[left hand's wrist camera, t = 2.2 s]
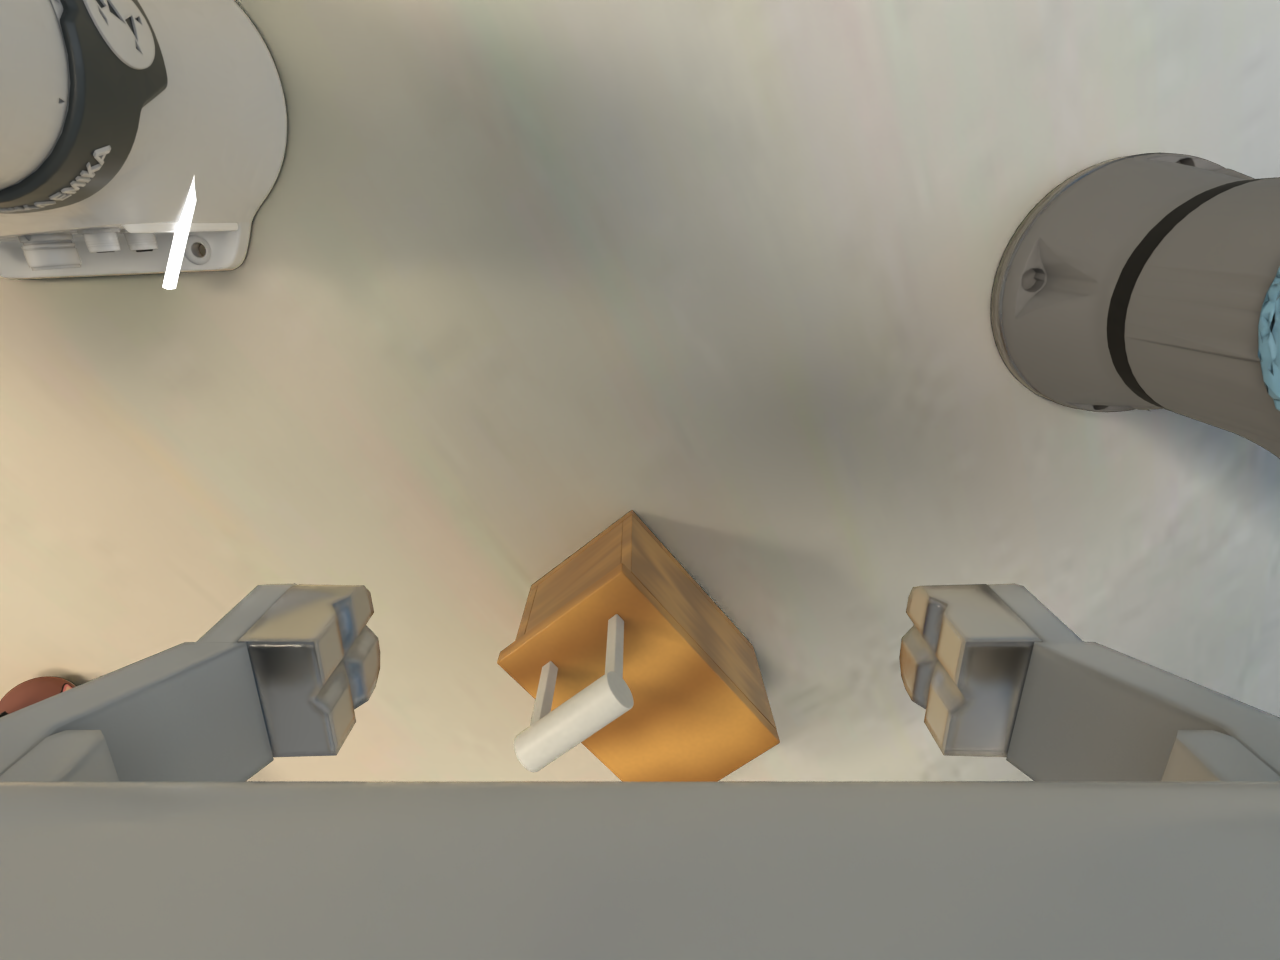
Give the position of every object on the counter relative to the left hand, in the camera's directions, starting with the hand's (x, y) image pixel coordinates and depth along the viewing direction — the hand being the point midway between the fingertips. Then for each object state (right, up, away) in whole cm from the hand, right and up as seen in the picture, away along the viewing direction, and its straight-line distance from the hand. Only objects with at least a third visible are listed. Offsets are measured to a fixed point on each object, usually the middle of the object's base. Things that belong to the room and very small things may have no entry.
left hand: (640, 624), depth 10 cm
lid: (0, -11, +32) cm, 34 cm away
